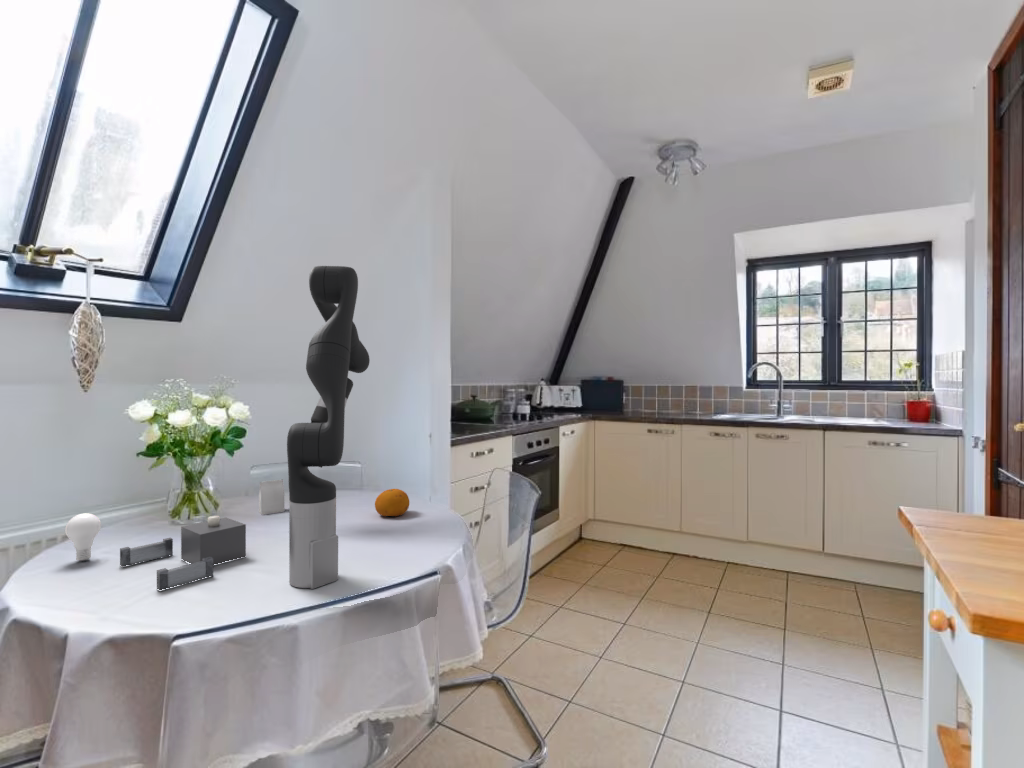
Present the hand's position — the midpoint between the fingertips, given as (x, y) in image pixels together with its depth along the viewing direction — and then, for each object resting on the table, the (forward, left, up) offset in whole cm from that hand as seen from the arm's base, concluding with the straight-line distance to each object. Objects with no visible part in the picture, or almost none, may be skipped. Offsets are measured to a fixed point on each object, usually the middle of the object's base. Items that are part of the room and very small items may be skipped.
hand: (306, 463), depth 143 cm
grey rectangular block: (+27, -4, -19) cm, 33 cm away
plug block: (-3, +26, -19) cm, 32 cm away
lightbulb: (+19, +45, -19) cm, 52 cm away
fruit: (-6, -25, -19) cm, 32 cm away
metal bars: (-3, +36, -19) cm, 41 cm away
